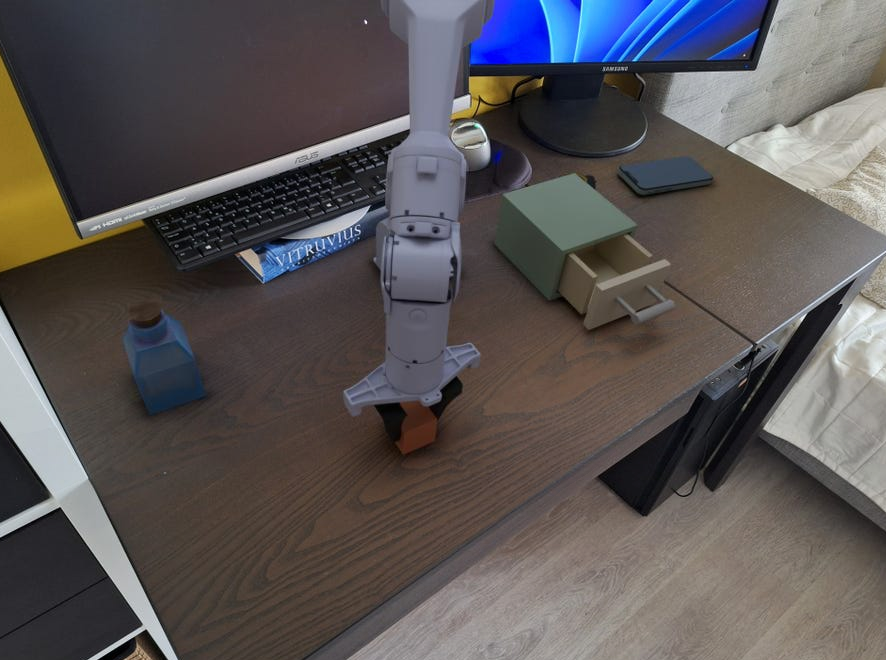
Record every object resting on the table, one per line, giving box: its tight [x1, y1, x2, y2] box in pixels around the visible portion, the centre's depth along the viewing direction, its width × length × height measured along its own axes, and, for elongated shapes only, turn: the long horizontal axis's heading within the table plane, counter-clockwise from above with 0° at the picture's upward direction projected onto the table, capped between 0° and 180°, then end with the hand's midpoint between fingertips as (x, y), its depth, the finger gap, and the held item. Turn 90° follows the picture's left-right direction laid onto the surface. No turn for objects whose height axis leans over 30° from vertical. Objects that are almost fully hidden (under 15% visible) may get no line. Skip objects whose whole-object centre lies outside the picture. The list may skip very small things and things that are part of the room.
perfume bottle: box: [121, 298, 207, 416], centre depth 72 cm, size 6×6×12 cm
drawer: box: [557, 233, 676, 331], centre depth 87 cm, size 17×11×7 cm, turn 30°
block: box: [394, 401, 438, 455], centre depth 72 cm, size 4×4×4 cm
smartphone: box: [617, 155, 714, 196], centre depth 112 cm, size 8×2×15 cm
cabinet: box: [494, 172, 638, 302], centre depth 93 cm, size 14×13×9 cm
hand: (410, 427), depth 73 cm, fingers closed on block, 4 cm apart
